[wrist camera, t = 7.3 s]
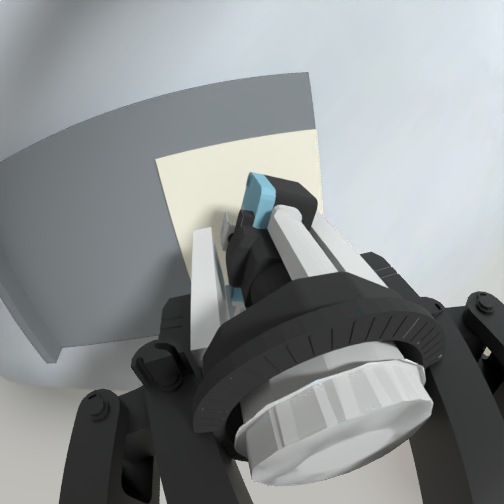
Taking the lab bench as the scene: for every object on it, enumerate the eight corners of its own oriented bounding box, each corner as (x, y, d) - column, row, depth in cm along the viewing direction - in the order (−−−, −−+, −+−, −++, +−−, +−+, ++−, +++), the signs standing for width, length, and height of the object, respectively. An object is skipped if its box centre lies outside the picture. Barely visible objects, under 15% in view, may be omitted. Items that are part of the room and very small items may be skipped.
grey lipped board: (-23, 177, 12) (-47, 192, 9) (300, 73, 13) (320, 69, 11) (57, 338, 19) (46, 363, 17) (319, 289, 20) (333, 314, 18)
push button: (286, 303, 15) (356, 486, 7) (182, 292, 14) (183, 508, 5) (329, 181, 12) (510, 342, 4) (207, 153, 11) (228, 371, 2)
